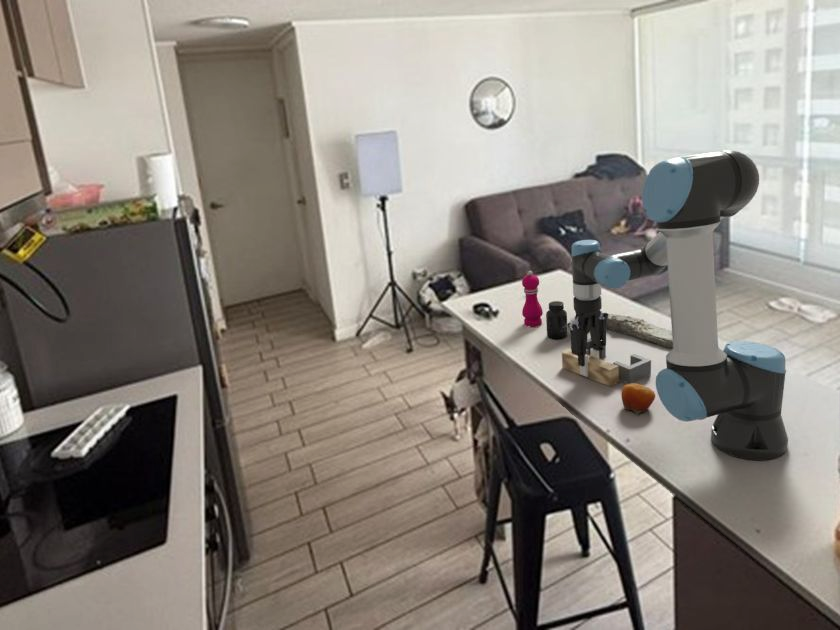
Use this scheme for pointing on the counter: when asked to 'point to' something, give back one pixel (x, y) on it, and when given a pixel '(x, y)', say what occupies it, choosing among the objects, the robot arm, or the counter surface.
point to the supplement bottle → (556, 321)
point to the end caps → (631, 373)
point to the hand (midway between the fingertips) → (589, 372)
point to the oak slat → (592, 368)
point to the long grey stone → (640, 329)
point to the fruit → (637, 397)
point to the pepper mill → (531, 301)
